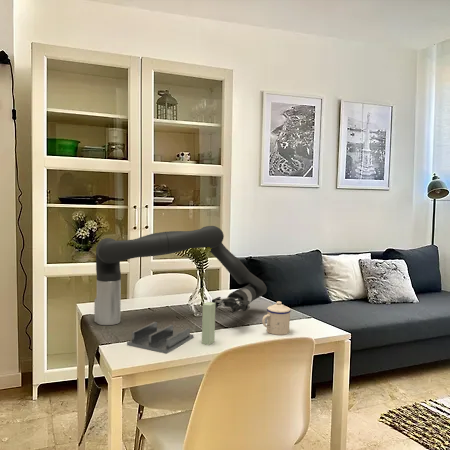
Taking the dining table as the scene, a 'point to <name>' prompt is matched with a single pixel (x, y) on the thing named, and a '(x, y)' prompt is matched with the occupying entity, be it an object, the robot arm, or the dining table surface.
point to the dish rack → (159, 338)
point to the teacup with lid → (277, 319)
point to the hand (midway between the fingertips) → (222, 308)
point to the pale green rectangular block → (208, 323)
